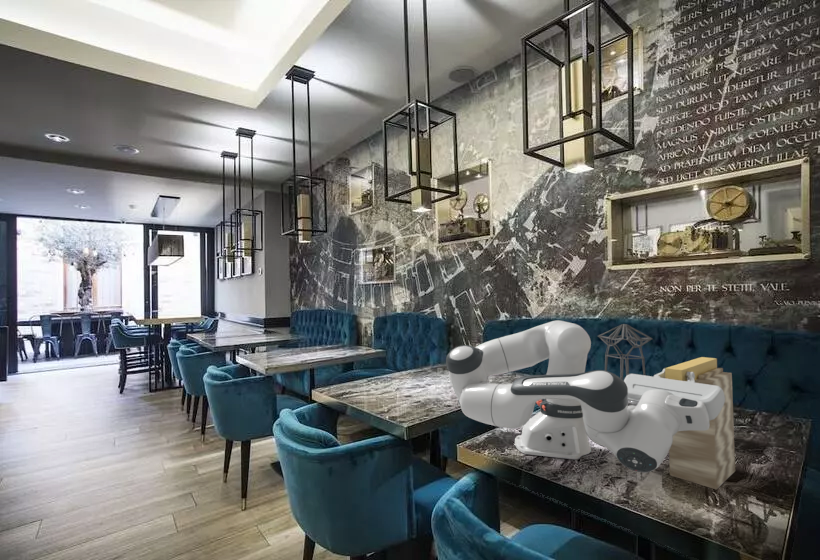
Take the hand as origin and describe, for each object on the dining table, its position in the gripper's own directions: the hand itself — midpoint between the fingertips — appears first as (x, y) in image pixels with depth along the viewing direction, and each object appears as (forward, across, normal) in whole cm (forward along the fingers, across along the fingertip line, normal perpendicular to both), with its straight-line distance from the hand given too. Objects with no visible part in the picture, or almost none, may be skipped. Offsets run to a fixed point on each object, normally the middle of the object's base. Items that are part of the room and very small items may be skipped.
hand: (679, 372), depth 99 cm
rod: (+7, 0, -7) cm, 10 cm away
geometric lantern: (+37, -39, -54) cm, 76 cm away
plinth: (-2, 0, -32) cm, 32 cm away
